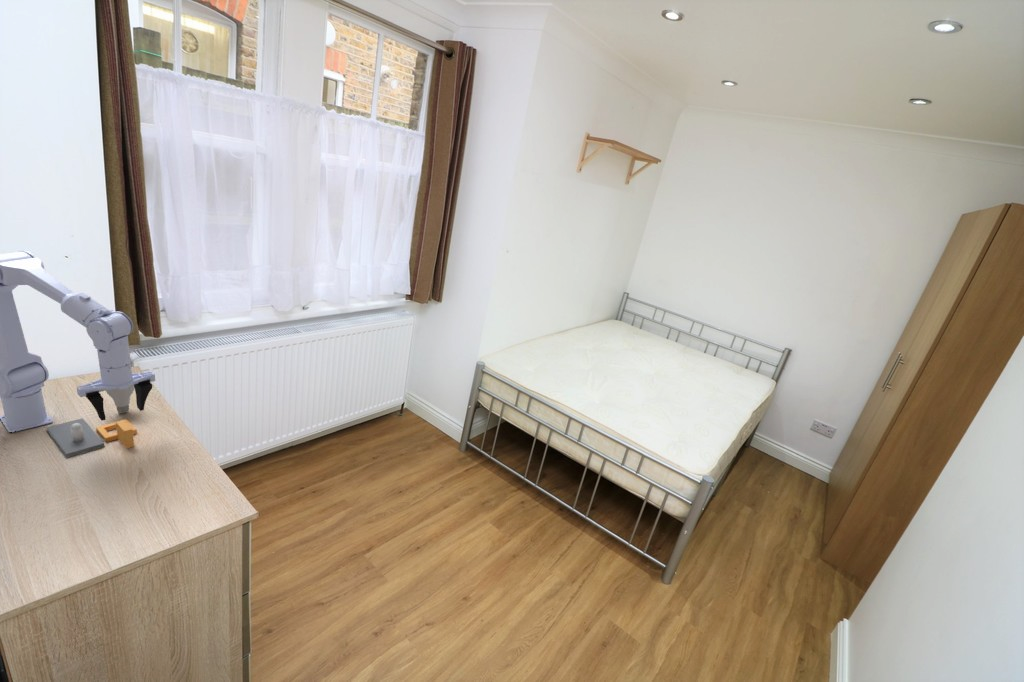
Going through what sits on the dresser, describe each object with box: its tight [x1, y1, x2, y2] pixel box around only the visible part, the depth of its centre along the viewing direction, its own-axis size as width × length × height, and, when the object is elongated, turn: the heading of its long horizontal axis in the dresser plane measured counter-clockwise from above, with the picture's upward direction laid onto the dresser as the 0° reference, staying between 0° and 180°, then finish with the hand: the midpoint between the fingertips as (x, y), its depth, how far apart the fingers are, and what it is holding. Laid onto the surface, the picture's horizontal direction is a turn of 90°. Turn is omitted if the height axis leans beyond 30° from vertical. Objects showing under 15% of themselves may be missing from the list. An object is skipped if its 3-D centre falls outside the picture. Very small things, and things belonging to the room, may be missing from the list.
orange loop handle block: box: [95, 419, 138, 449], centre depth 119 cm, size 12×6×5 cm, turn 55°
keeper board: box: [45, 418, 105, 458], centre depth 116 cm, size 15×7×6 cm, turn 55°
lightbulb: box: [105, 385, 135, 414], centre depth 127 cm, size 6×6×11 cm
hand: (121, 413), depth 115 cm, fingers open, 7 cm apart
